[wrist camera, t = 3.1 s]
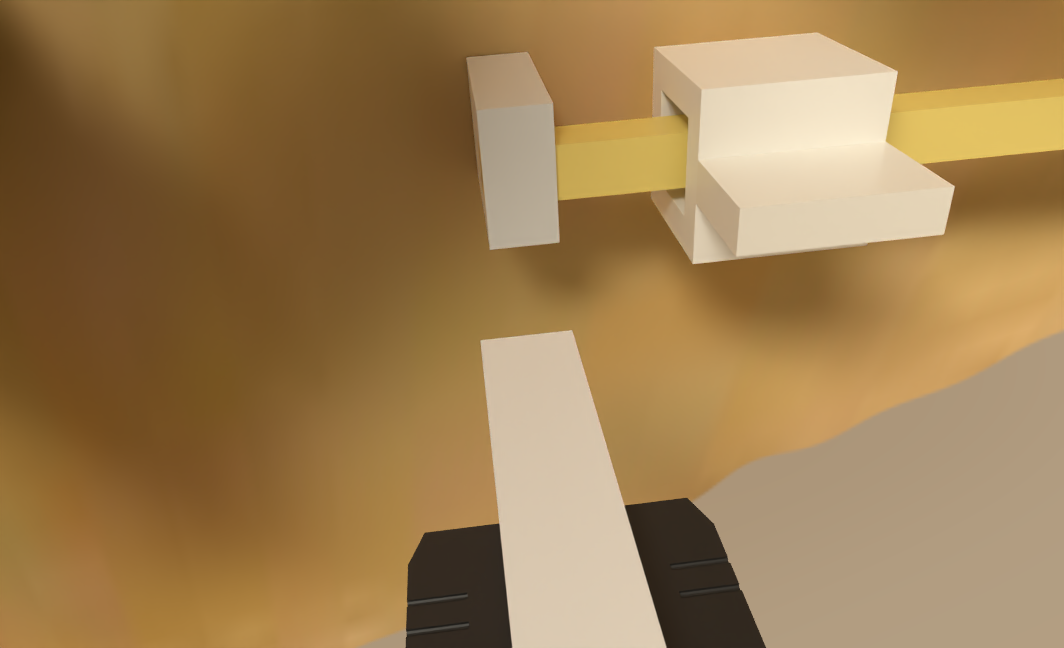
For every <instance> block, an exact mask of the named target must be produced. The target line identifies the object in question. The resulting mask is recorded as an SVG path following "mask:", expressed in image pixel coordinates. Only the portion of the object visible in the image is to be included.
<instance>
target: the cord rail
mask: <svg viewBox="0 0 1064 648" xmlns="http://www.w3.org/2000/svg"><path fill="white" fill-rule="evenodd" d="M466 61H467V71H468V81H469V91H470V101H471V111H472V121H473V131H474V141H475V151H476V161H477V171H478V179H479V185H480V191H481V197H482V203H483V210H484V216H485V222H486V228H487V235H488V241H489V247H490V250H494V249H503V248H513V247H522V246H532V245H541V244H551V243H560V240H559V218H558V201H559V200H569V199H579V198H589V197H599V196H609V195H619V194H629V193H638V192H648V191H658V190H668V189H678V188H685V187H686V164H687V141H688V117H687V116H686V115H685V114H683V115H672V116H662V117H651V118H641V119H630V120H620V121H609V122H599V123H588V124H578V125H567V126H557V127H554V110H553V102H552V100H551V98H550V96H549V94H548V92H547V90H546V88H545V86H544V84H543V82H542V80H541V78H540V75H539V73H538V71H537V69H536V67H535V65H534V63H533V61H532V59H531V57H530V55H529V53H528V52H519V53H508V54H497V55H486V56H474V57H466ZM886 142H887V143H889V144H890V145H892V146H893V147H895V148H896V149H898V150H899V151H901V152H903V153H904V154H906V155H907V156H909V157H910V158H912V159H913V160H915V161H916V162H918V163H920V164H925V163H935V162H945V161H955V160H964V159H974V158H984V157H994V156H1004V155H1014V154H1024V153H1034V152H1043V151H1053V150H1063V149H1064V78H1062V79H1052V80H1041V81H1030V82H1020V83H1009V84H999V85H988V86H978V87H967V88H957V89H946V90H936V91H925V92H915V93H904V94H894V96H893V102H892V108H891V113H890V119H889V125H888V130H887V136H886Z"/></svg>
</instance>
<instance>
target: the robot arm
mask: <svg viewBox="0 0 1064 648" xmlns="http://www.w3.org/2000/svg"><path fill="white" fill-rule="evenodd" d="M480 341H481V351H482V361H483V370H484V380H485V389H486V399H487V409H488V418H489V428H490V438H491V447H492V457H493V466H494V476H495V486H496V495H497V505H498V515H499V524H492V525H484V526H476V527H468V528H460V529H452V530H444V531H436V532H428V533H425V534H424V535H423V537H422V539H421V541H420V543H419V545H418V547H417V549H416V551H415V553H414V555H413V557H412V559H411V561H410V563H409V564H408V588H407V603H408V607H407V622H406V631H407V637H406V648H766V647H765V645H764V642H763V640H762V637H761V635H760V633H759V630H758V628H757V626H756V624H755V621H754V618H753V616H752V614H751V611H750V609H749V606H748V604H747V602H746V599H745V597H744V594H743V592H742V591H741V590H740V588H739V583H738V580H737V578H736V575H735V573H734V571H733V568H732V566H731V564H730V563H729V562H728V558H727V554H726V552H725V550H724V547H723V545H722V542H721V540H720V538H719V535H718V533H717V531H716V528H715V526H714V524H713V523H712V522H711V521H710V520H709V519H708V518H707V517H706V516H705V515H704V514H703V513H702V512H701V511H700V510H699V509H698V508H697V507H696V506H695V505H694V504H693V503H692V502H691V501H690V500H689V499H688V498H682V499H674V500H666V501H658V502H650V503H642V504H634V505H626V506H624V503H623V499H622V496H621V493H620V489H619V486H618V483H617V479H616V476H615V472H614V469H613V466H612V462H611V459H610V456H609V452H608V449H607V446H606V442H605V439H604V435H603V432H602V429H601V425H600V422H599V419H598V415H597V412H596V408H595V405H594V402H593V398H592V395H591V392H590V388H589V385H588V382H587V378H586V375H585V371H584V368H583V365H582V361H581V358H580V355H579V351H578V348H577V344H576V341H575V338H574V334H573V331H572V330H569V331H560V332H551V333H542V334H533V335H524V336H515V337H506V338H497V339H487V340H480Z"/></svg>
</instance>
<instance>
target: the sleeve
mask: <svg viewBox="0 0 1064 648" xmlns="http://www.w3.org/2000/svg"><path fill="white" fill-rule="evenodd" d="M897 74H898V71H896V70H894V69H892V68H890V67H888V66H886V65H884V64H882V63H879V62H877V61H875V60H873V59H871V58H869V57H867V56H865V55H863V54H861V53H859V52H857V51H855V50H852V49H850V48H848V47H846V46H844V45H842V44H840V43H838V42H836V41H834V40H832V39H830V38H828V37H826V36H823V35H821V34H819V33H806V34H795V35H783V36H772V37H761V38H750V39H738V40H727V41H716V42H705V43H693V44H682V45H671V46H660V47H654V63H653V115H652V117H662V116H672V115H683V114H685V115H686V116H687V117H688V141H687V164H686V187H685V188H678V189H668V190H658V191H651V199H652V201H653V202H654V204H655V206H656V207H657V209H658V210H659V212H660V213H661V215H662V217H663V218H664V220H665V221H666V223H667V224H668V226H669V228H670V229H671V231H672V232H673V234H674V235H675V237H676V239H677V240H678V242H679V243H680V245H681V246H682V248H683V249H684V251H685V253H686V254H687V256H688V257H689V259H690V260H691V262H692V264H699V263H708V262H717V261H726V260H736V259H745V258H754V257H763V256H773V255H782V254H791V253H801V252H810V251H819V250H828V249H838V248H847V247H856V246H865V245H867V243H870V242H879V241H889V240H898V239H907V238H917V237H926V236H935V235H944V232H945V227H946V223H947V219H948V214H949V210H950V206H951V201H952V197H953V193H954V188H955V186H954V185H952V184H950V183H949V182H947V181H946V180H944V179H943V178H941V177H940V176H938V175H937V174H935V173H933V172H932V171H930V170H929V169H927V168H926V167H924V166H923V165H921V164H920V163H918V162H916V161H915V160H913V159H912V158H910V157H909V156H907V155H906V154H904V153H903V152H901V151H899V150H898V149H896V148H895V147H893V146H892V145H890V144H889V143H887V142H886V136H887V130H888V125H889V119H890V113H891V108H892V102H893V96H894V91H895V85H896V79H897Z"/></svg>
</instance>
